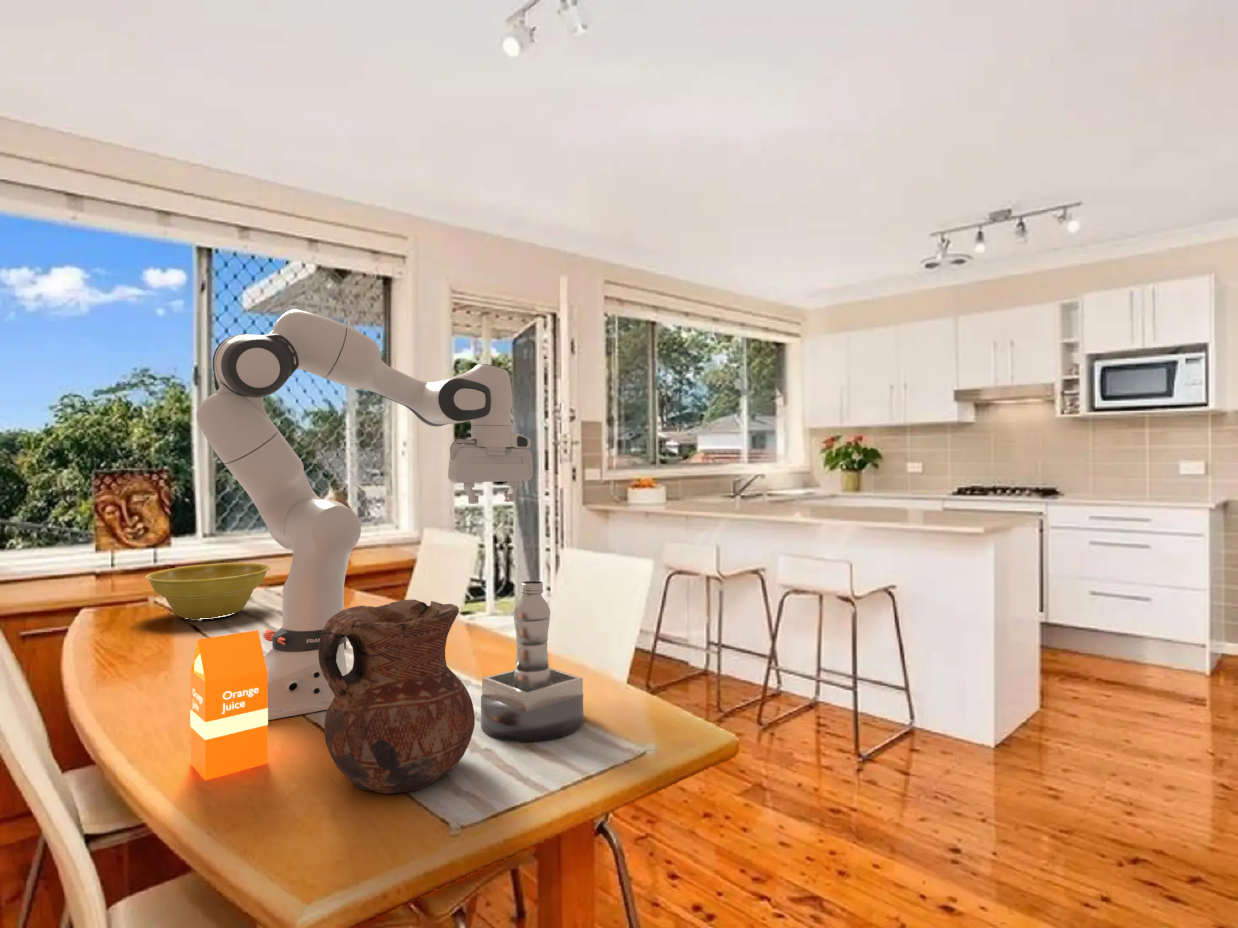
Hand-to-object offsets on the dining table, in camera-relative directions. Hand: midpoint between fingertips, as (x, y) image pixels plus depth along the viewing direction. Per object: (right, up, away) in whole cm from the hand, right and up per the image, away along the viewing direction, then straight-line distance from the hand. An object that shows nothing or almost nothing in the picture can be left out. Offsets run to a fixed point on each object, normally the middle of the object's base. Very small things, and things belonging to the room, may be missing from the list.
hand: (491, 502), depth 162 cm
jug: (-4, -38, -52) cm, 64 cm away
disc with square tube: (+13, -38, -31) cm, 50 cm away
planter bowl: (-92, -37, +55) cm, 114 cm away
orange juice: (-32, -38, -48) cm, 69 cm away
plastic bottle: (+13, -33, -31) cm, 47 cm away
